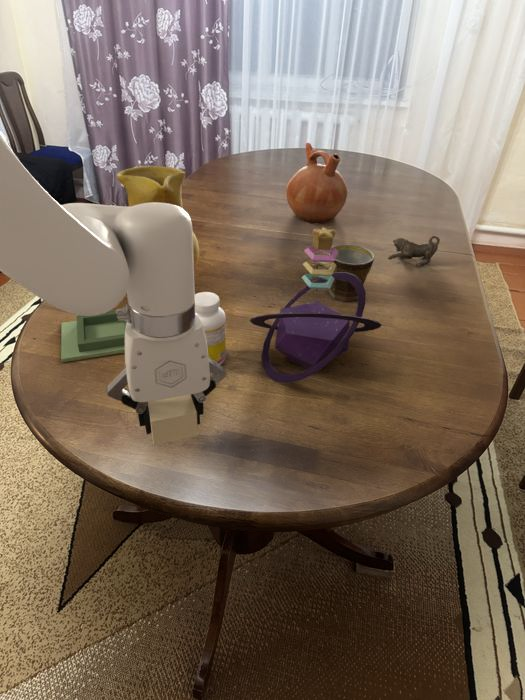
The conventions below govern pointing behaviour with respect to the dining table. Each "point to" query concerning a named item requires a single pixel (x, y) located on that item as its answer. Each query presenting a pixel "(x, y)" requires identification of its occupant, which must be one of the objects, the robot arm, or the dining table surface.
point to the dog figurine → (415, 250)
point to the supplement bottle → (212, 324)
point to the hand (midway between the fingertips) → (171, 421)
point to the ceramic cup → (350, 269)
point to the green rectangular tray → (92, 337)
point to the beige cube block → (172, 419)
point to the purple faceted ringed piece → (314, 318)
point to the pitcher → (155, 189)
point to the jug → (317, 188)
